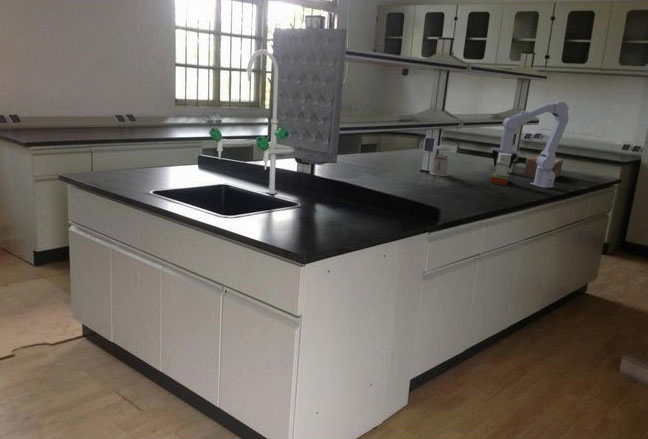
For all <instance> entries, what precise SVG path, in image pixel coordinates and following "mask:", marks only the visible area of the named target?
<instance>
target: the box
mask: <svg viewBox="0 0 648 439" xmlns="http://www.w3.org/2000/svg"><path fill="white" fill-rule="evenodd" d="M497 162H498V161H497ZM508 165H509V164H508V163H502V162H498V163H496V166H495V171H494V172H495V175H499V176H506V175H507V174H508V173H507V170H508Z"/></svg>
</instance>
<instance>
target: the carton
mask: <svg viewBox="0 0 648 439" xmlns="http://www.w3.org/2000/svg"><path fill="white" fill-rule="evenodd" d="M491 174H492V175H491V177H490V181H489V184H493V185H500V186H505V185H506V186H507V184H508V181H509V176H510V175H509V174H510V173H507V175H506V176H499V175H495V171H493V173H491Z"/></svg>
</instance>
